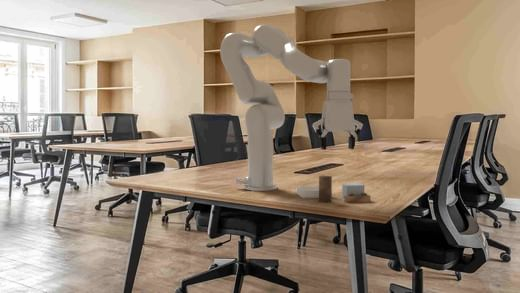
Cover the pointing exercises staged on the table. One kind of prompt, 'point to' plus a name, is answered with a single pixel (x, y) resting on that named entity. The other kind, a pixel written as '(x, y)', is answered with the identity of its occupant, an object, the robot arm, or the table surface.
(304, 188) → the tray
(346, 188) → the pale blue block
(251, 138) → the robot arm
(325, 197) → the dowel
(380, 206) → the table surface
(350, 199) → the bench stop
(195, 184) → the table surface
